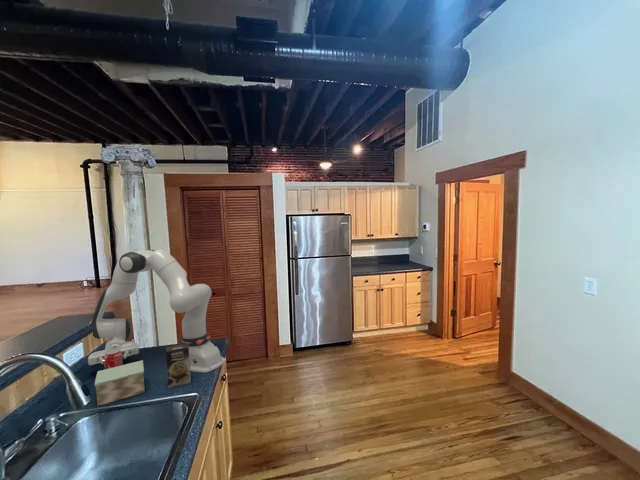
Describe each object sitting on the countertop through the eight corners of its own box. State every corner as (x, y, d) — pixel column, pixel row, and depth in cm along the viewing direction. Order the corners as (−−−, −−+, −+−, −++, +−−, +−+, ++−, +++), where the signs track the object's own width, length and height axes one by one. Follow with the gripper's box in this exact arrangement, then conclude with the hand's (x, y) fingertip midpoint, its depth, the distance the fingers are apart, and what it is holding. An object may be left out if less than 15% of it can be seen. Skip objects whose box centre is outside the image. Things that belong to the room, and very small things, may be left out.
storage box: (143, 380, 134) (142, 362, 134) (144, 392, 124) (143, 373, 124) (100, 392, 126) (98, 374, 125) (97, 406, 116) (95, 386, 115)
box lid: (142, 362, 134) (142, 360, 134) (144, 374, 123) (144, 372, 123) (97, 373, 125) (97, 371, 125) (94, 388, 114) (94, 385, 114)
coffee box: (167, 388, 126) (165, 351, 125) (169, 381, 132) (166, 346, 131) (191, 383, 130) (188, 347, 129) (191, 376, 136) (188, 342, 135)
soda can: (105, 375, 139) (103, 351, 138) (123, 371, 143) (121, 347, 143) (105, 381, 133) (103, 355, 133) (123, 377, 137) (122, 351, 137)
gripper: (88, 349, 143) (85, 359, 131) (137, 338, 154) (138, 347, 142) (89, 361, 143) (86, 373, 132) (138, 350, 154) (139, 359, 143)
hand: (113, 359), depth 137 cm, fingers closed on soda can, 6 cm apart
